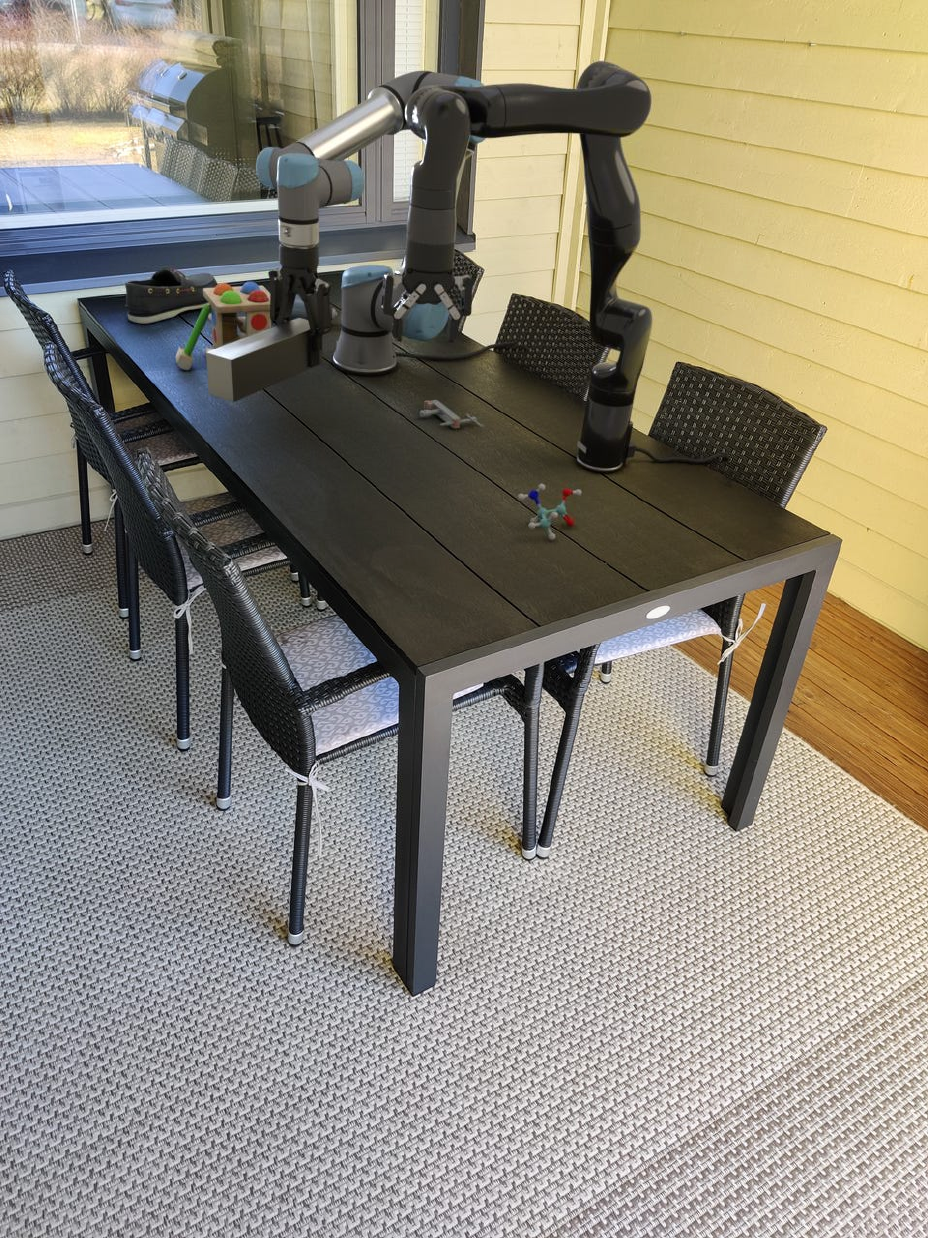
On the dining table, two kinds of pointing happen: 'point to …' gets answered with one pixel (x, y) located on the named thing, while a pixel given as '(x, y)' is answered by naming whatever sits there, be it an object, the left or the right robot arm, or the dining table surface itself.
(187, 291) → the boat shoe
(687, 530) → the dining table surface
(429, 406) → the clamp
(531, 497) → the molecular model
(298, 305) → the power drill
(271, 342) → the bar
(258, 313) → the pounding bench toy
